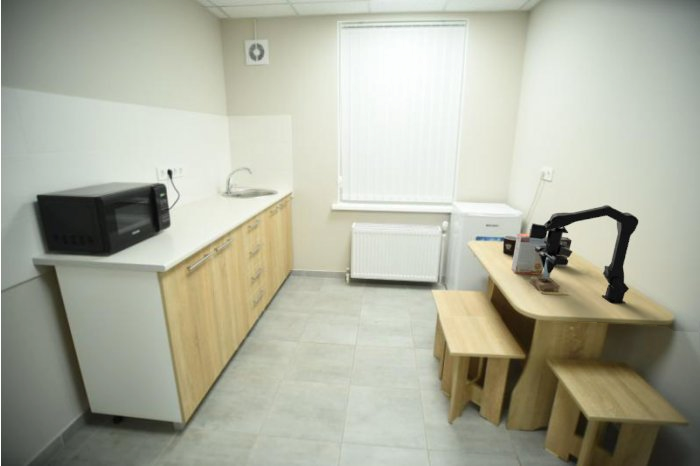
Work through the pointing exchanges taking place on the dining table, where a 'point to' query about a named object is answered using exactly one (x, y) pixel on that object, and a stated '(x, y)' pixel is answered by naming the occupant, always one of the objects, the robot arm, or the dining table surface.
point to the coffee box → (567, 244)
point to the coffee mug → (509, 245)
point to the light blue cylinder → (545, 273)
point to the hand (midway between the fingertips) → (547, 271)
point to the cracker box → (527, 255)
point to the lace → (553, 293)
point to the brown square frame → (544, 284)
